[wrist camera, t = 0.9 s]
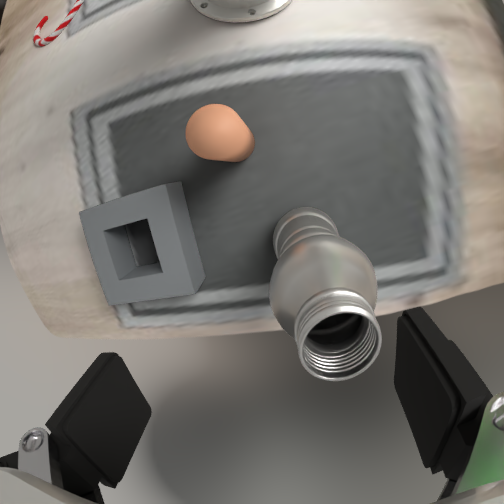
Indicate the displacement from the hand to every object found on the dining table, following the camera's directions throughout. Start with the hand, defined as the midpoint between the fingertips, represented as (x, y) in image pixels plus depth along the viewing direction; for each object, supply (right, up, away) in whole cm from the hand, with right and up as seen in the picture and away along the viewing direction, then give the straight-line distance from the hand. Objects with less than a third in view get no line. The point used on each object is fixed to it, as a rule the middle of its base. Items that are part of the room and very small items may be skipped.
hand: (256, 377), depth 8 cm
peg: (-2, +15, +19) cm, 25 cm away
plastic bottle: (+5, +6, +22) cm, 23 cm away
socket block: (-12, +5, +23) cm, 27 cm away
